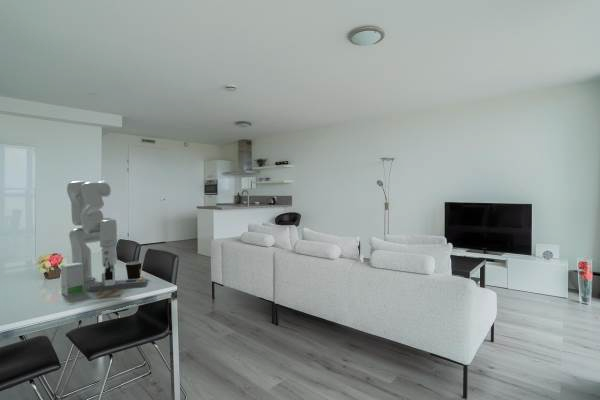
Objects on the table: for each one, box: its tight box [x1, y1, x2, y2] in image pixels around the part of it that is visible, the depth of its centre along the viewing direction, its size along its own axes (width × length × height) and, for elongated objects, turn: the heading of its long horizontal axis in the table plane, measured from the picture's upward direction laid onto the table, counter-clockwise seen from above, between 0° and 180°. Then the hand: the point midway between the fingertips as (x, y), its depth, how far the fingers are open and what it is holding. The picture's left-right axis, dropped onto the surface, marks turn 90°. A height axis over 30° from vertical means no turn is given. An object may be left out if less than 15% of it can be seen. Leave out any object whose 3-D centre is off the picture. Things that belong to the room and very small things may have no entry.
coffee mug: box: [125, 260, 143, 280], centre depth 193 cm, size 12×9×10 cm
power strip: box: [89, 277, 147, 292], centre depth 176 cm, size 26×8×4 cm, turn 109°
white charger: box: [103, 267, 116, 286], centre depth 164 cm, size 4×3×8 cm
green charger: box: [101, 272, 105, 285], centre depth 174 cm, size 4×3×8 cm
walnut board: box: [95, 288, 125, 299], centre depth 164 cm, size 11×11×1 cm
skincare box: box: [60, 262, 85, 297], centre depth 166 cm, size 8×7×16 cm
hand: (109, 278), depth 164 cm, fingers closed on white charger, 3 cm apart
